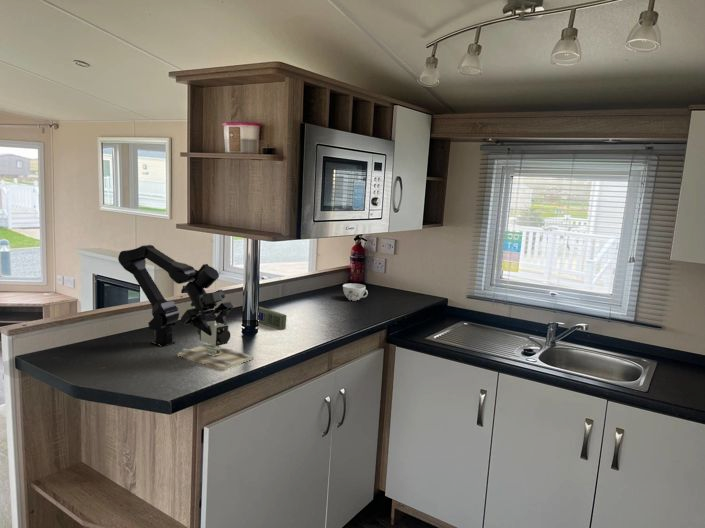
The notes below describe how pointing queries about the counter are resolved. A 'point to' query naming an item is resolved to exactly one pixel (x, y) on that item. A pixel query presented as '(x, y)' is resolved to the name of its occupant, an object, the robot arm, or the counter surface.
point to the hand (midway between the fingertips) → (218, 333)
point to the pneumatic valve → (215, 337)
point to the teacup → (354, 291)
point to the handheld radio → (272, 318)
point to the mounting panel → (216, 357)
